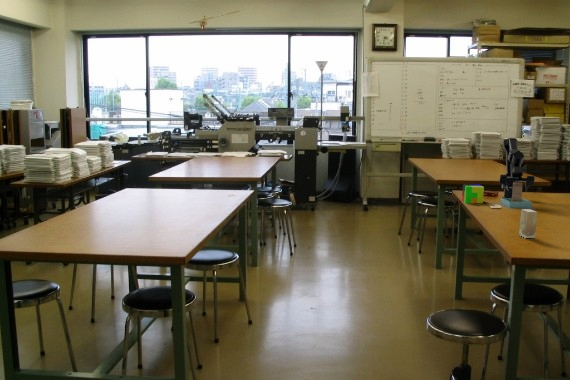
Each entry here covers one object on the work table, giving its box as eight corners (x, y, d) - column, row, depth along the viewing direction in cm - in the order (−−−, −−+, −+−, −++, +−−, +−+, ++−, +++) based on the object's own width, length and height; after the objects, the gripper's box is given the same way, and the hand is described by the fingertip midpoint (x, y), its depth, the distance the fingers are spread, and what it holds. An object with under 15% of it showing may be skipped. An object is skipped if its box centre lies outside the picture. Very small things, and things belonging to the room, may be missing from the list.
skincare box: (518, 236, 249) (520, 208, 247) (527, 235, 250) (530, 208, 248) (525, 239, 243) (528, 211, 241) (535, 239, 243) (537, 211, 241)
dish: (500, 203, 330) (501, 198, 330) (522, 204, 330) (522, 198, 330) (509, 207, 318) (509, 201, 318) (531, 207, 318) (532, 202, 318)
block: (511, 203, 327) (513, 182, 325) (519, 204, 326) (521, 182, 324) (512, 204, 322) (514, 183, 321) (520, 205, 321) (522, 183, 320)
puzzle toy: (478, 201, 342) (479, 184, 340) (482, 203, 332) (483, 187, 330) (461, 200, 343) (462, 184, 341) (465, 203, 333) (466, 186, 331)
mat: (496, 203, 333) (496, 202, 333) (523, 204, 333) (523, 203, 333) (508, 209, 315) (508, 208, 315) (536, 209, 315) (536, 208, 315)
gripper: (501, 160, 327) (502, 181, 318) (535, 161, 322) (537, 183, 313) (498, 172, 336) (499, 193, 327) (532, 173, 331) (533, 195, 322)
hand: (517, 191), depth 322 cm, fingers open, 9 cm apart
